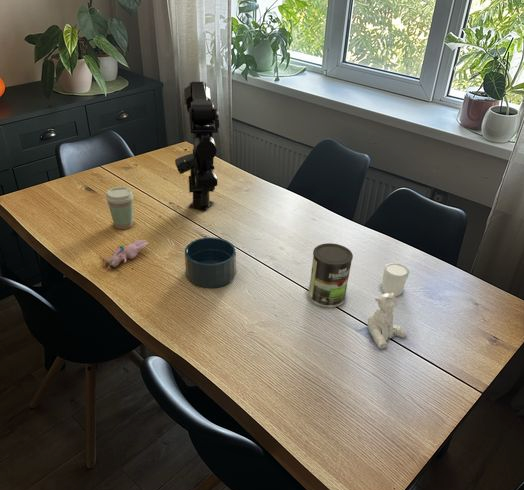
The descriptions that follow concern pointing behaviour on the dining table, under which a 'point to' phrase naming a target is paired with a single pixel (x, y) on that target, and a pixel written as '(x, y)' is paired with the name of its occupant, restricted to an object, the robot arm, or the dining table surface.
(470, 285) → the dining table surface
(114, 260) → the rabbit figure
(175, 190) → the dining table surface
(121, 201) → the coffee cup
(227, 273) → the bowl
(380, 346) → the seated beast figurine
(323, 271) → the coffee can
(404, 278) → the white candle jar
